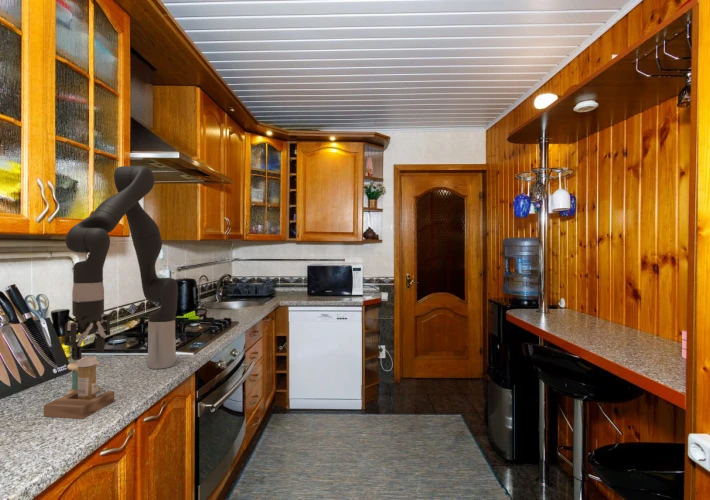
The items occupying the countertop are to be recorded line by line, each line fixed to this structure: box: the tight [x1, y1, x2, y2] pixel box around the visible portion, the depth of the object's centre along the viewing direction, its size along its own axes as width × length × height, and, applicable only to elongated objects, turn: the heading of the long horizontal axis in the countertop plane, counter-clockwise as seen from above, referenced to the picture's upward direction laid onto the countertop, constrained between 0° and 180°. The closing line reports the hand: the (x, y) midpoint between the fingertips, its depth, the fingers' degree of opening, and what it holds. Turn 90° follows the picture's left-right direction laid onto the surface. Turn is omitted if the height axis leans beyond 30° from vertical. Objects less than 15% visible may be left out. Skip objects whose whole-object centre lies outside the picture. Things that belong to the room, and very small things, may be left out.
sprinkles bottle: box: [76, 356, 98, 400], centre depth 115 cm, size 5×5×14 cm
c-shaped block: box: [43, 390, 115, 420], centre depth 112 cm, size 12×11×3 cm
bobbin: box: [66, 360, 100, 395], centre depth 124 cm, size 8×8×9 cm
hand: (88, 355), depth 115 cm, fingers open, 8 cm apart
